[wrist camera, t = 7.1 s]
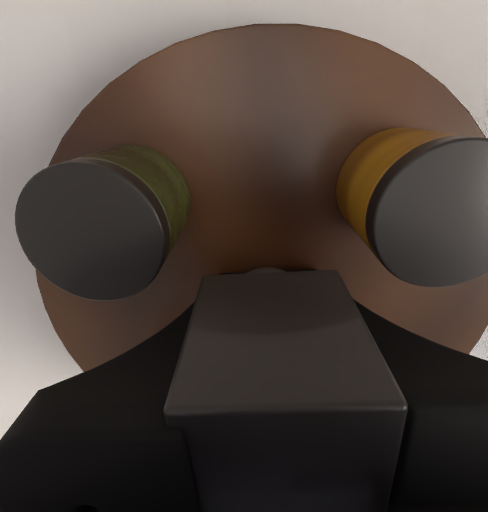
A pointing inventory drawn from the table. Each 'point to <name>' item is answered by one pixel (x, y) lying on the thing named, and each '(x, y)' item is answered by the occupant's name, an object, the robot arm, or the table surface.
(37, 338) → the table surface
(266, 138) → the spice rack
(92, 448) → the robot arm
